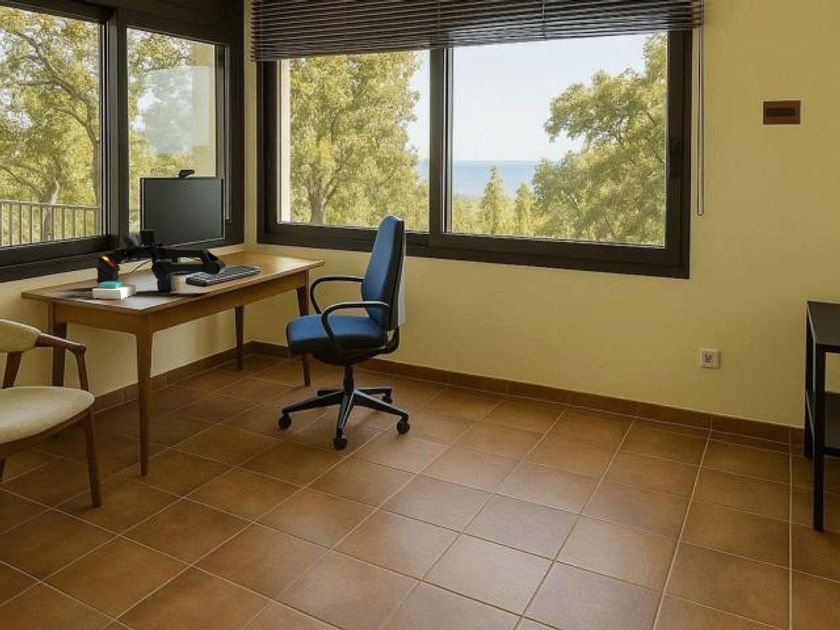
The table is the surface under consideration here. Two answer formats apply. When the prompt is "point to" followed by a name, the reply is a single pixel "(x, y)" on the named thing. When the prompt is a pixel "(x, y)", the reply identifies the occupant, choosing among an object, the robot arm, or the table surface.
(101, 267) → the black stepped slab
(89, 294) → the mat
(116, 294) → the white flat block
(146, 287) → the table surface
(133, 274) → the table surface
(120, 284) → the turquoise slab
